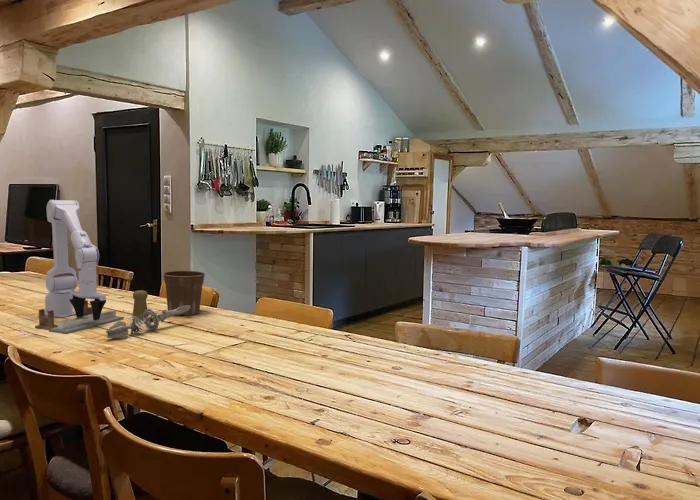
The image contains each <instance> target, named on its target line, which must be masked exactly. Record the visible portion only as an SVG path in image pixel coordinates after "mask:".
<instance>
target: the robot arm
mask: <svg viewBox="0 0 700 500" xmlns="http://www.w3.org/2000/svg"><path fill="white" fill-rule="evenodd" d="M45 208H46V218H47V222H49V223H51V228H52V229H51V230H52V246H53V247H52V248H53V250H52V251H53V267H51V269H49V270H48V271H47V272H46V278H45V287H46V290H47V291H48V292H47V293H46V295H45V297H44V309H45V316H48V311H50V310H54V318H56V317H57V318H64V317H71V316H74V315H75V316H76V318H78V317H82V316H83V314H84V303H85V300H86V299H87V300H90V301H89V304H90V307H92V311H93V320H99V319H100V315H101V312H103V311H102V310H103V308H104V306H105V304H106V303H107V295H106V294H104V293H99V292H97V263H98V262H99V260H100V252H99V248H98V247H97V246H95V244H93V243H92V242H91V239H90V237H89V235H88V233H87V232H86V231H85V230H83V229H82V225H81V222H80V218H79V216H80V211H81V208H80V203H79V201H77V200H76V199H72V200H71V199H69V200H68V199H67V200H66V199H65V200H64V199H61V200H60V199H59V200H58V199H49V201H48V202H47V204H46V207H45ZM67 228H68V229H69V231H70V232H71V235H70V241H71V243H72V246H73V248H74V250H75V253H74V257H75V258H74V259H75V263H76V268H77V269H78V270H77V271H78V276H77V273H76V270H75V269H74V268H72V267H71V266H69V250H68V249H69V248H68V245H69V244H68V230H67ZM77 288H78V291H76V289H77Z"/></svg>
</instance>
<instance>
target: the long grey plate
mask: <svg viewBox="0 0 700 500" xmlns="http://www.w3.org/2000/svg"><path fill="white" fill-rule="evenodd" d="M124 319H125V317H124V316H121V315H116V317H113V318H109V319H105V320H101V321H97V322H93V323H89V324H85V325H81V326H77V327H73V328H69V329H65V330H59V329H58V327H55V328H51V329H49V330H48V332H49V333H58V334H64V335H68V334H69V335H70V334H72V333H73V334H74V333H76V332H79V331H83V330H86V329H92V328H94V327H99V326H102V325H107V324H111V323H114V322H118V321H122V320H124Z"/></svg>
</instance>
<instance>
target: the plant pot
mask: <svg viewBox="0 0 700 500" xmlns="http://www.w3.org/2000/svg"><path fill="white" fill-rule="evenodd" d="M162 275H163V278H164V279H163V280H164V284H165V292H166V293H165V294H166V303H167V304H166V305H167V311H170V310H174V309H177V308H179V307H182V306H185V305H190V306H191V307H190V309H189V310H188V311H186V312H184V313H181V314H178V315H177V314H176V315H173V316H176V317H179V316H184V317H188V316H189V317H190V316H195V315H198V314H199V313H200V310H201V301H202V292H203V285H204V283H205V282H204V281H205V276H206V273H205V272H203V271H198V270H173V271H172V270H171V271H165V272H162Z"/></svg>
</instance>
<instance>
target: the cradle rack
mask: <svg viewBox="0 0 700 500" xmlns="http://www.w3.org/2000/svg"><path fill="white" fill-rule="evenodd" d="M88 300H89V299H87V300H85V303H84V314H83V316H87V315H91V314H93V311H92V307H91V306H89V301H88ZM55 327H58V324H55V316H54V310H50V311H48V316H47V315H45V308H41V309H38V324H37V325H34V328H35V329H39V330H47V331H49V329H51V328H55Z"/></svg>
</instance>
